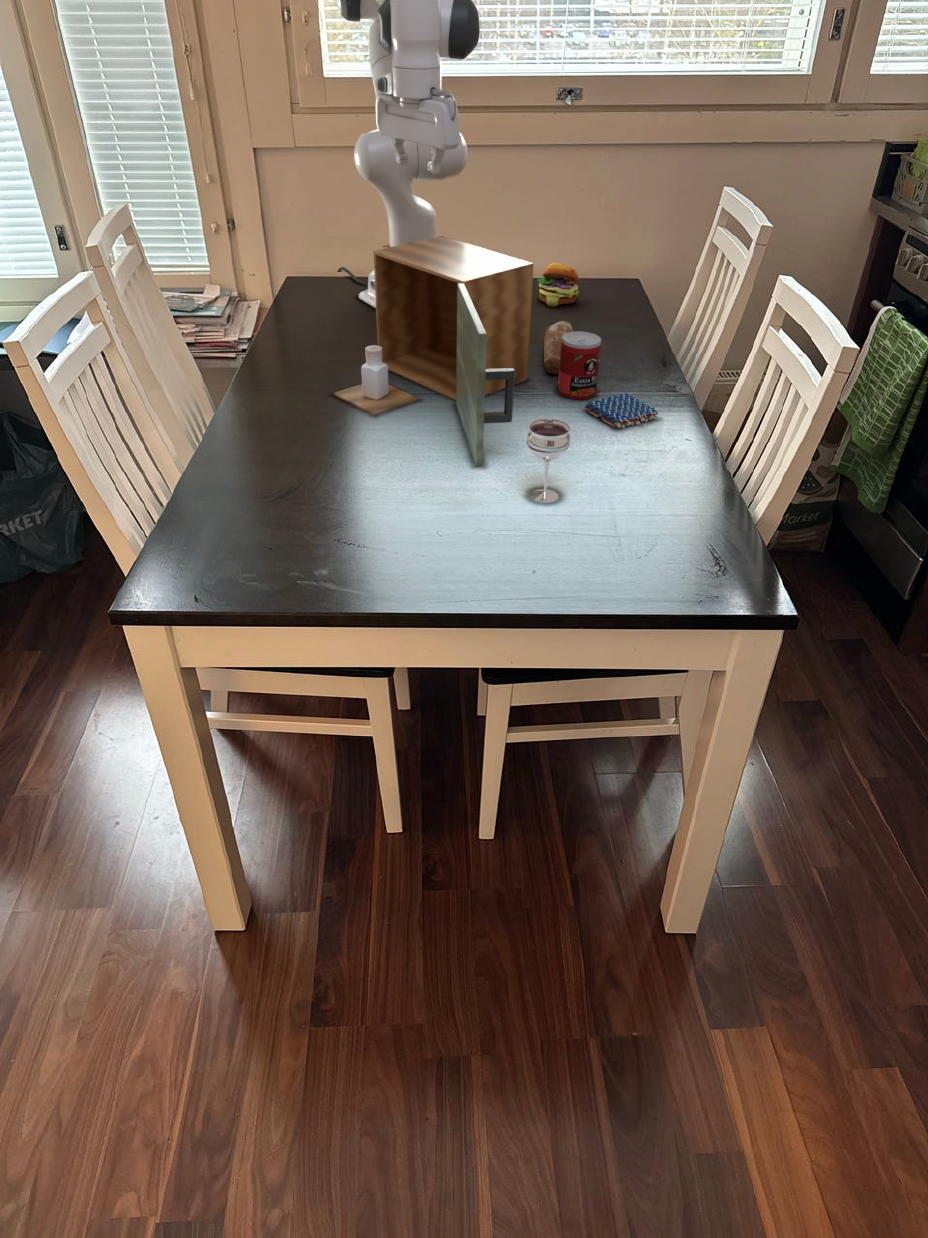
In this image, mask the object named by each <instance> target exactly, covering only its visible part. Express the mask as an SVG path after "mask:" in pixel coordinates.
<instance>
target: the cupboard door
mask: <svg viewBox="0 0 928 1238" xmlns="http://www.w3.org/2000/svg"><path fill="white" fill-rule="evenodd" d="M486 335H487V334H486V332H485V329H484V327H483V325H482V323H481V321H480V318H479V316H478V314H477V312H476V309H475V307H474V305H473V303H472V301H471V298H470V296H469V294H468V292H467V289H466V287H465V285H464V283H461V284H457V383H456V400H455V405H456V408H457V412H458V413H459V417H460V420H461V423H462V426H463V429H464V433H465V436H466V438H467V443H468V446H469V448H470V449H469V450H470V452H471V455H472V458H473V461H474V465H475V467H483V466H484V441H485V440H484V438H485V437H484V435H485V424H502V423H503V424H506V423H512V422H513V411H514V387H515V384H514V371H515V370H514V369H513V368H499V369H486ZM504 379H506V381H505V388H504V405H503V406H504V407H503V408H504V410H503V411H490V412H486V411H485V405H486V403H485V400H486V395H485V380H504Z"/></svg>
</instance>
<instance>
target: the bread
mask: <svg viewBox="0 0 928 1238" xmlns="http://www.w3.org/2000/svg"><path fill="white" fill-rule="evenodd" d="M569 332H575V331H574V329H573V327H572V324H571V323H570V322H569V321H564V320H559V321H558V322H555V323H554V324H552V325H549V326H548V327H547V328H546V330H545V333H544V339H543V340H544V342H543V345H544V347H543V350H544V351H543V362H544V370H545V371H546V372H547V373H548V374H551V375H559V366H560V353H561V341H562V336H563V335H564V334H566V333H569Z"/></svg>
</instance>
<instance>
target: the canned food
mask: <svg viewBox="0 0 928 1238" xmlns="http://www.w3.org/2000/svg"><path fill="white" fill-rule="evenodd" d="M601 350H602V337H600V336H599V335H597V334H595V333H592V332H589V331H580V330H579V331H577V330H575V331H574V332H569V333H566V334H564V335H563V336H562V341H561V353H560V366H559V374H558V379H557V381H558V383H557V389H558V393H559V394H560V395H561V396H563V397H564V398H567V399H571V400H576V401H577V400H580V401H581V400H582V401H583V400H587V399H591V398H593V397H594V396H595V394H596V392H597V388H598V378H599V368H600V362H601V361H600V360H601Z"/></svg>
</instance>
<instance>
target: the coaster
mask: <svg viewBox="0 0 928 1238" xmlns="http://www.w3.org/2000/svg"><path fill="white" fill-rule="evenodd" d="M388 385H389V393H388V395H386V396H384V397H382V398H380V399H378V400H375V399H372V398H369V397H365V396H363V394H362V383H360V384H357V385H354V386H350V387H348V388H345V389H342V390H339V391H336V392H333V396H334V397H336V398H338V399H340V400H342V401H343V402H346V403H348V404H350V405H352V406H354V407H356V408H358V409H360V410H362V411H364V412H366V413H368V414H369V415H372V416H374V417H375V416H378V415H381V414H383V413H387V412H390V411H393V410H395V409H398V408H402V407H404V406H407V405H410V404H412V403H415V402H418V401H420V399H419V398H420V397H417V396H414V395H412V394H410V393H408V392H405V391H404V390H401V389H399V388H397V387H395V386H393V385H391V384H390V383H388Z"/></svg>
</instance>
